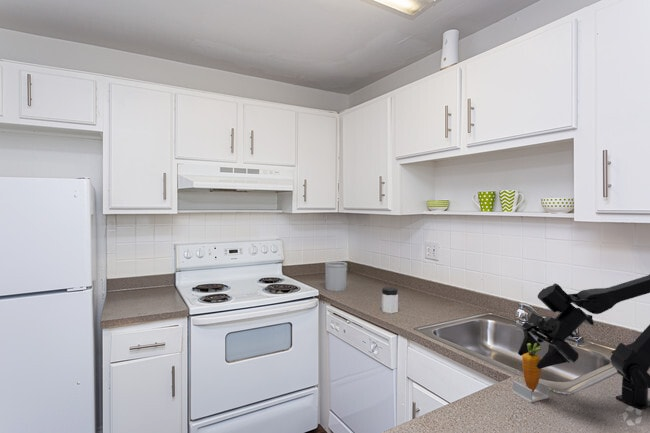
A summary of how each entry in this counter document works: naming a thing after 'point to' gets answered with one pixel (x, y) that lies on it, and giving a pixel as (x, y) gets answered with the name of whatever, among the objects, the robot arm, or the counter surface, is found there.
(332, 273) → the utensil holder
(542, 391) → the white railed tray
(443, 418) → the counter surface
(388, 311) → the jar
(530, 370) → the carrot
